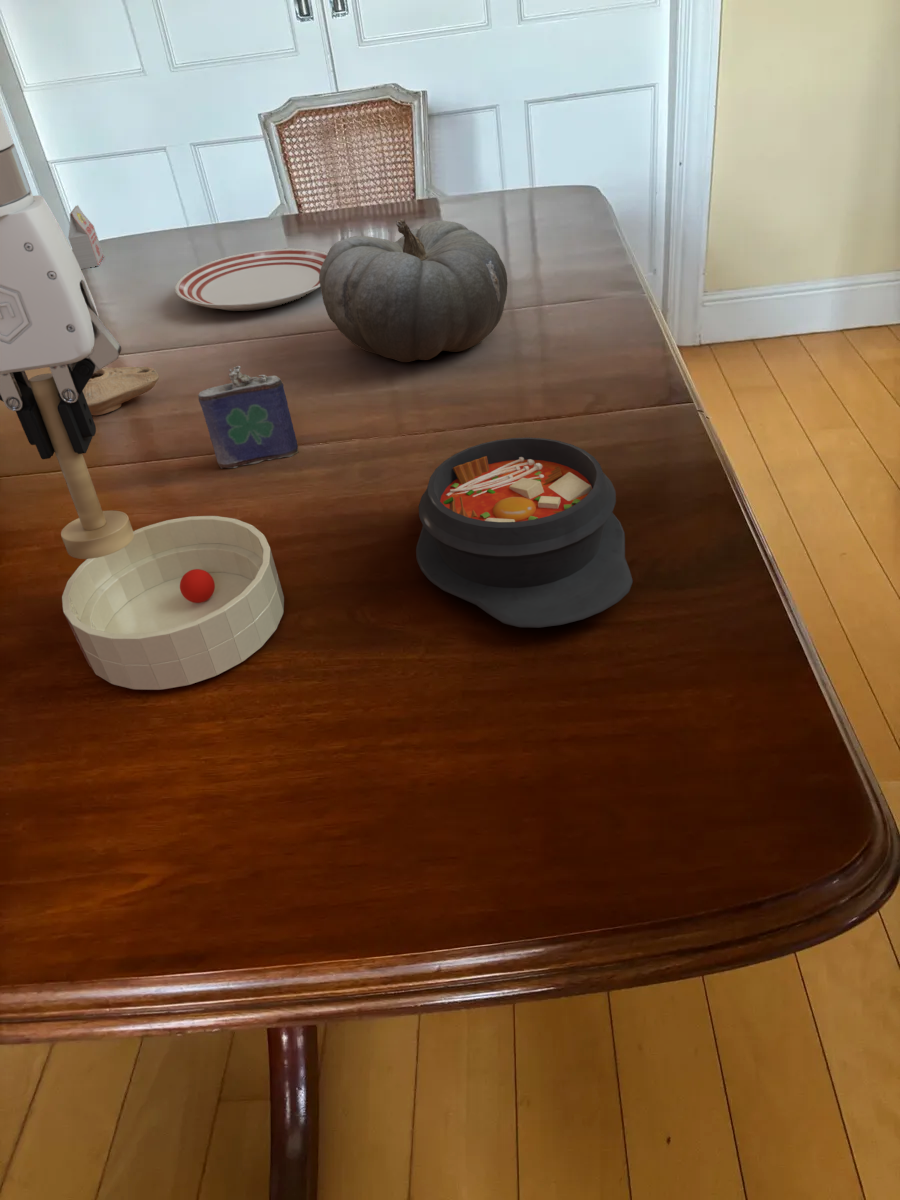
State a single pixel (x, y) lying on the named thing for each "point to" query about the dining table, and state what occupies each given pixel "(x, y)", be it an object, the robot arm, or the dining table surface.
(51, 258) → the robot arm
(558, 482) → the casserole
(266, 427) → the flask
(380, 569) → the dining table surface
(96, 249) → the white milk carton
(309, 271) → the dinner plate
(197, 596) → the red ball
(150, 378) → the pottery oil lamp
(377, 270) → the gourd
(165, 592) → the bowl
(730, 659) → the dining table surface
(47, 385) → the wooden potato masher
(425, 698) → the dining table surface
